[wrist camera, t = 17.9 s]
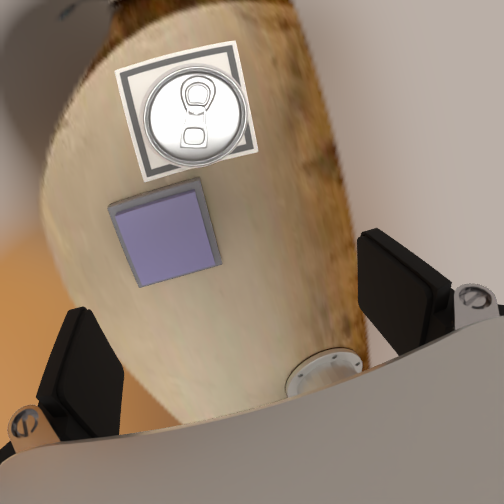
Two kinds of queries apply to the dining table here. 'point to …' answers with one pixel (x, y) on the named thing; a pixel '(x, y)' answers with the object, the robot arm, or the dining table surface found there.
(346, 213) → the dining table surface
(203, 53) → the marked card
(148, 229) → the ink pad
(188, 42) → the dining table surface
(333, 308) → the dining table surface
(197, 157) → the can
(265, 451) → the robot arm
